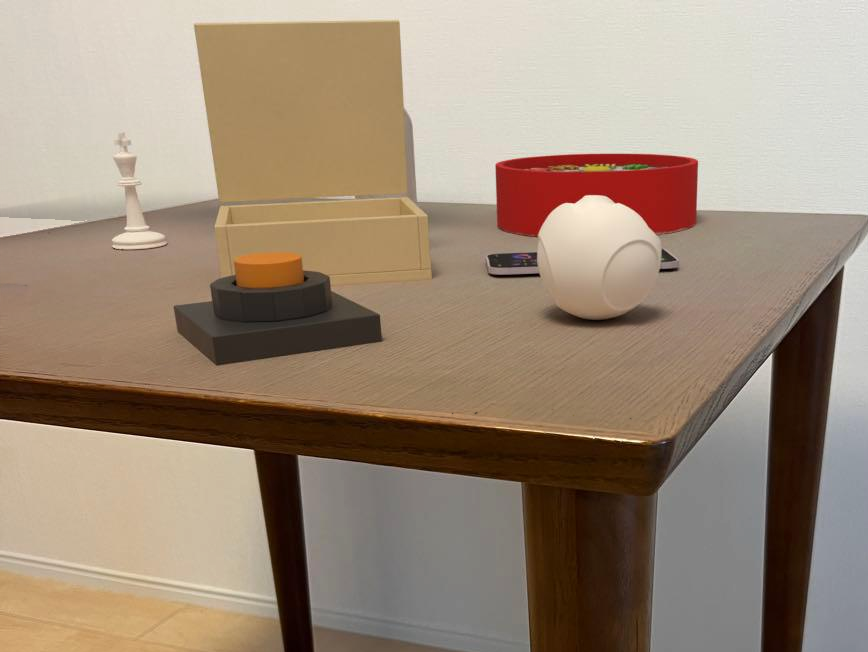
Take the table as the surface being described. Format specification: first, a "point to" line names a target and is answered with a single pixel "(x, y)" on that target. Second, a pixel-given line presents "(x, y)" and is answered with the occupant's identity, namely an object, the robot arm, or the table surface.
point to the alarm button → (268, 270)
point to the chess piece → (133, 205)
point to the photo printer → (410, 166)
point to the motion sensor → (597, 257)
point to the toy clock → (597, 188)
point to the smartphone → (528, 263)
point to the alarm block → (274, 320)
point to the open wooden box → (332, 237)
